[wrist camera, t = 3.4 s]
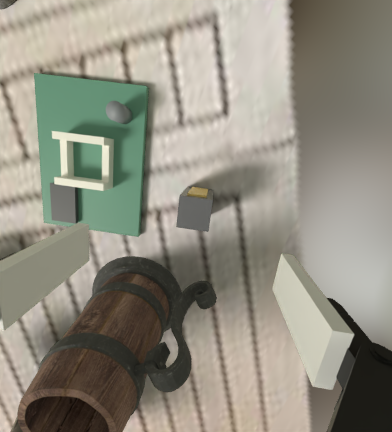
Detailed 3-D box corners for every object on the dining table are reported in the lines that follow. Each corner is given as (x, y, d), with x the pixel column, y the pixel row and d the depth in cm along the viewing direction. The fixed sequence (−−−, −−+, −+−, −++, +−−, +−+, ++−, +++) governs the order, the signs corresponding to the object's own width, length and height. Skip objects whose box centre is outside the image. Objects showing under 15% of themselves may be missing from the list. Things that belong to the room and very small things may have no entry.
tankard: (116, 345, 43) (38, 496, 24) (76, 272, 40) (-55, 381, 20) (230, 315, 39) (246, 467, 20) (197, 231, 36) (176, 318, 16)
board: (140, 234, 37) (131, 243, 33) (48, 221, 37) (29, 228, 34) (148, 88, 31) (139, 78, 27) (39, 75, 32) (15, 64, 28)
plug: (209, 215, 35) (208, 231, 27) (184, 211, 35) (176, 227, 27) (213, 188, 34) (213, 198, 26) (187, 185, 34) (180, 193, 26)
